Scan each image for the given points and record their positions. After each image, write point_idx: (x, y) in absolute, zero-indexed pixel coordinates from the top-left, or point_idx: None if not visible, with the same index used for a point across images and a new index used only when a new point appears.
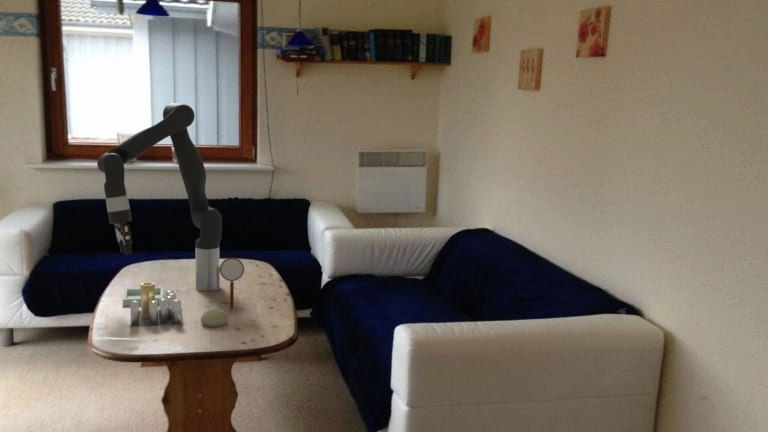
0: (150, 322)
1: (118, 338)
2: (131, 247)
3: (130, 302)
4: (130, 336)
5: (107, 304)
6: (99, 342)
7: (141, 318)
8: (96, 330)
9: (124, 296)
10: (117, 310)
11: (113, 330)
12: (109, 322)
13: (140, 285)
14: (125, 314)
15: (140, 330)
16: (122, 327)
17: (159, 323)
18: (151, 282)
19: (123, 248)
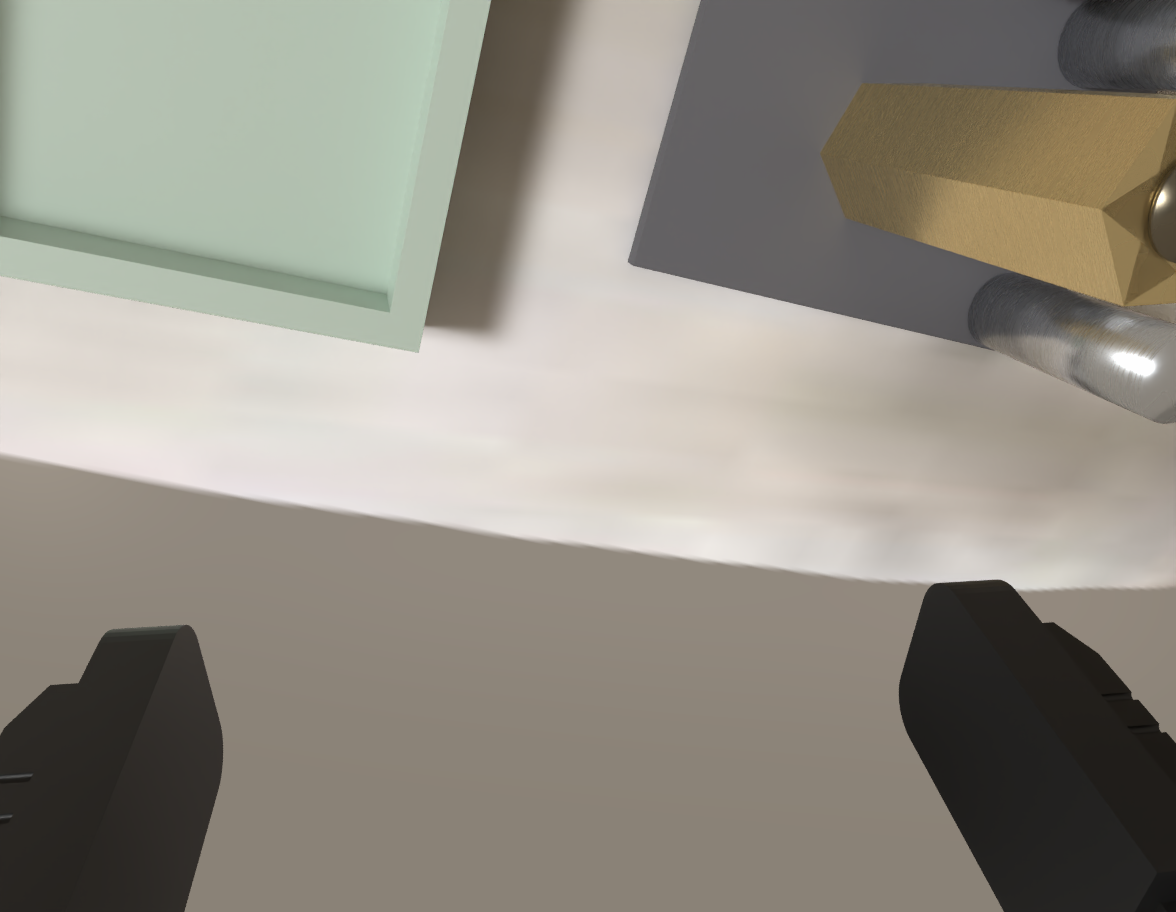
0: None
1: (1143, 457)
2: (1129, 733)
3: (1173, 421)
4: None
5: (232, 461)
6: (1129, 571)
7: None
8: (915, 581)
9: (283, 313)
10: (490, 389)
11: (982, 474)
12: (796, 486)
13: (1103, 299)
14: (649, 334)
15: None
16: (960, 405)
17: None
18: (1172, 124)
19: (169, 813)
